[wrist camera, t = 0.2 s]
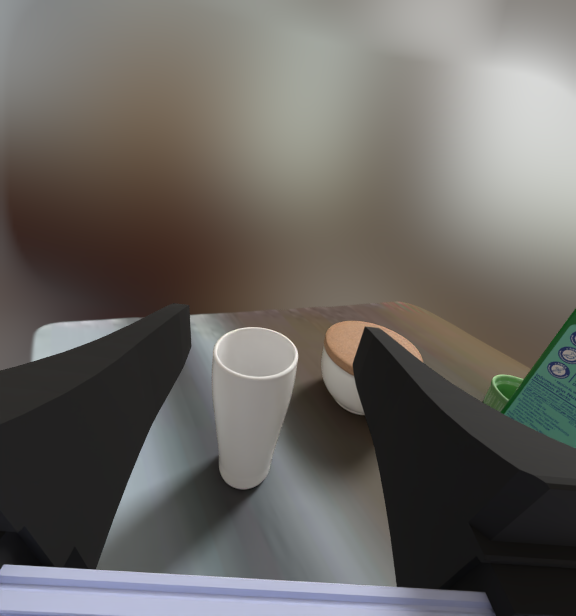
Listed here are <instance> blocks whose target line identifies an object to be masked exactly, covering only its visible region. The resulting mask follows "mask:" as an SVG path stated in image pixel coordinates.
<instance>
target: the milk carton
mask: <svg viewBox="0 0 576 616" xmlns="http://www.w3.org/2000/svg"><path fill="white" fill-rule="evenodd" d="M500 412H501V413H502V414H504V415H506V416H508V417H510V418H512V419H514V420H516V421H518V422H520V423H522V424H524V425H526V426H528V427H530V428H532V429H534V430H536V431H538V432H540V433H542V434H544V435H546V436H548V437H551V438H553V439H555V440H557V441H559V442H562V443H564V444H566V445H569V446H571V447H573V448H576V309H575V310H574V312H573V313H572V314H571V315H570V317H569V318H568V320H567V321H566V322H565V324H564V325H563V326H562V328H561V329H560V331H559V332H558V333H557V335H556V336H555V337H554V339H553V340H552V341H551V343H550V344H549V346H548V347H547V348H546V350H545V351H544V352H543V354H542V355H541V357H540V358H539V359H538V361H537V362H536V363H535V365H534V366H533V367H532V369H531V370H530V372H529V373H528V374H527V376H526V377H525V378H524V380H523V381H522V383H521V384H520V385H519V387H518V388H517V389H516V391H515V392H514V393H513V395H512V396H511V398H510V399H509V400H508V402H507V403H506V404H505V406H504V407H503V409H502V410H501V411H500Z"/></svg>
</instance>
